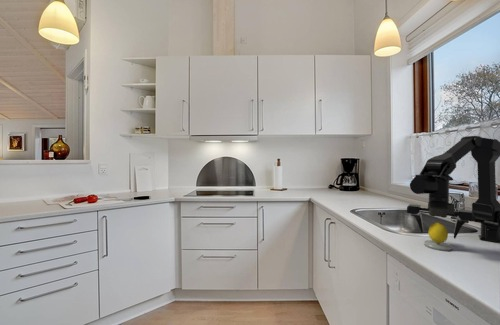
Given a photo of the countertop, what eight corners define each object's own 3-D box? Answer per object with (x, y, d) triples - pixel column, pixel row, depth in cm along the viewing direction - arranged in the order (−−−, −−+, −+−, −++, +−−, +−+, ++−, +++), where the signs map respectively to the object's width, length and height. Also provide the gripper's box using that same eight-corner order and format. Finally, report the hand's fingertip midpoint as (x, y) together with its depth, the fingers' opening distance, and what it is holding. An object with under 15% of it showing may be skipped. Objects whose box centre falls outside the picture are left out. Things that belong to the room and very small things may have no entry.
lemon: (438, 241, 89) (438, 220, 89) (451, 246, 83) (452, 224, 83) (424, 241, 88) (424, 220, 88) (436, 246, 83) (436, 224, 83)
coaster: (424, 241, 91) (424, 238, 91) (451, 246, 86) (451, 243, 86) (423, 247, 85) (423, 244, 85) (452, 253, 80) (452, 250, 80)
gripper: (405, 193, 85) (404, 235, 85) (476, 198, 73) (475, 248, 74) (408, 189, 94) (408, 228, 94) (473, 194, 82) (472, 238, 82)
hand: (437, 235), depth 86 cm, fingers open, 9 cm apart
